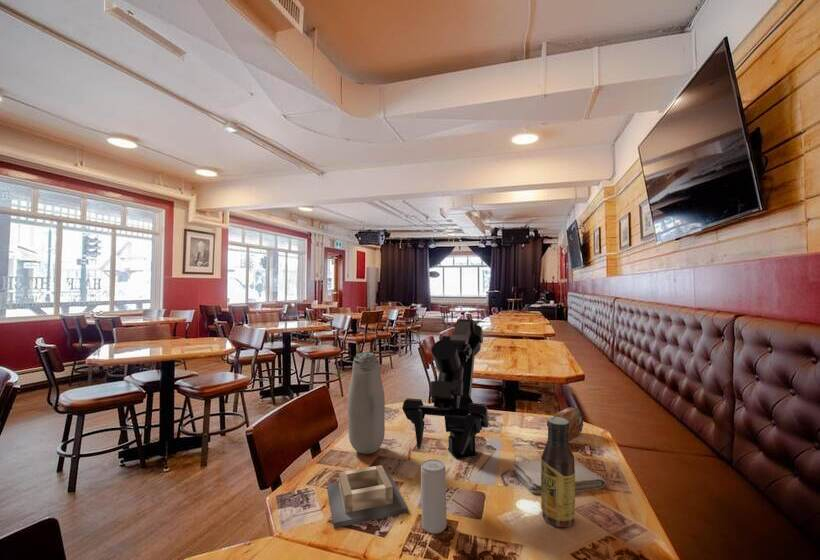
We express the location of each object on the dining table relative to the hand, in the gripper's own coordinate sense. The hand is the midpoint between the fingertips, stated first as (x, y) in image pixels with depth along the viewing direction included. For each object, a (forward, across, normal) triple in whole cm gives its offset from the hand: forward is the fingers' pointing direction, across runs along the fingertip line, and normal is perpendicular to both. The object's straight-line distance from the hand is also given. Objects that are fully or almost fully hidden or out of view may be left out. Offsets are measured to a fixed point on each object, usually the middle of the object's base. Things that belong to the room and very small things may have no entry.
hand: (439, 450), depth 78 cm
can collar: (+9, -17, +8) cm, 21 cm away
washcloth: (-5, +24, +23) cm, 33 cm away
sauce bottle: (+6, +23, +11) cm, 26 cm away
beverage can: (+13, 0, +5) cm, 14 cm away
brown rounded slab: (-24, +29, +41) cm, 55 cm away
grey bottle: (-6, -26, +24) cm, 36 cm away
